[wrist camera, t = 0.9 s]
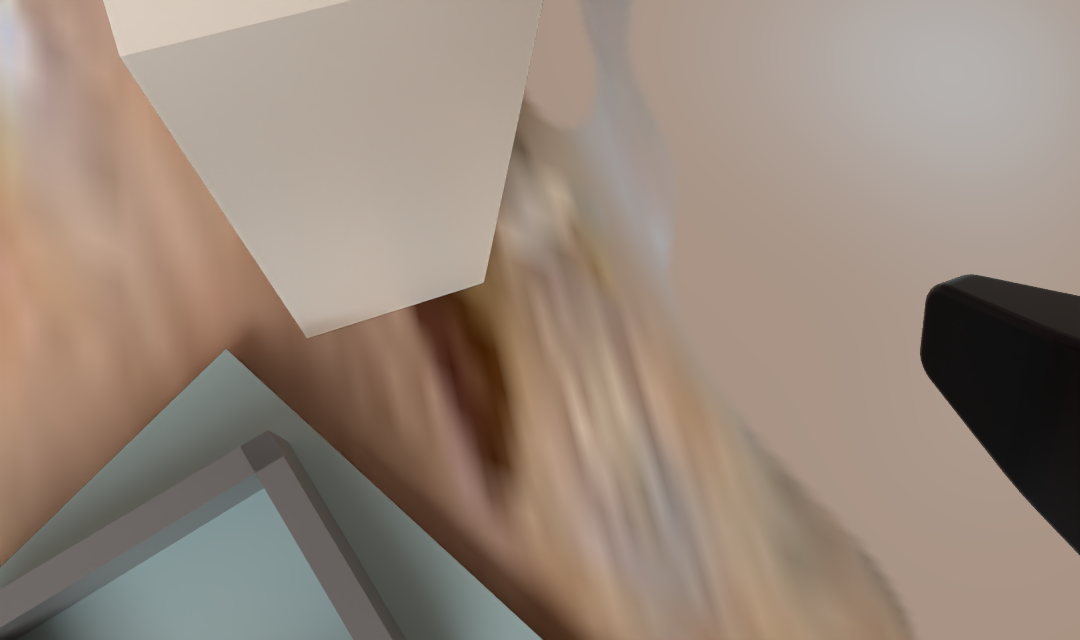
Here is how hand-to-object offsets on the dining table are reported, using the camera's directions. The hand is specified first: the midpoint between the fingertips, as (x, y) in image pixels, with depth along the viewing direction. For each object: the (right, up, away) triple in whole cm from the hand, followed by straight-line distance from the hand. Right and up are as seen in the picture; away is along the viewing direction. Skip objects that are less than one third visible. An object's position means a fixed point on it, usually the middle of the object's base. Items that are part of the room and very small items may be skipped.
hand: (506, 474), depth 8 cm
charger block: (-4, +4, +14) cm, 15 cm away
